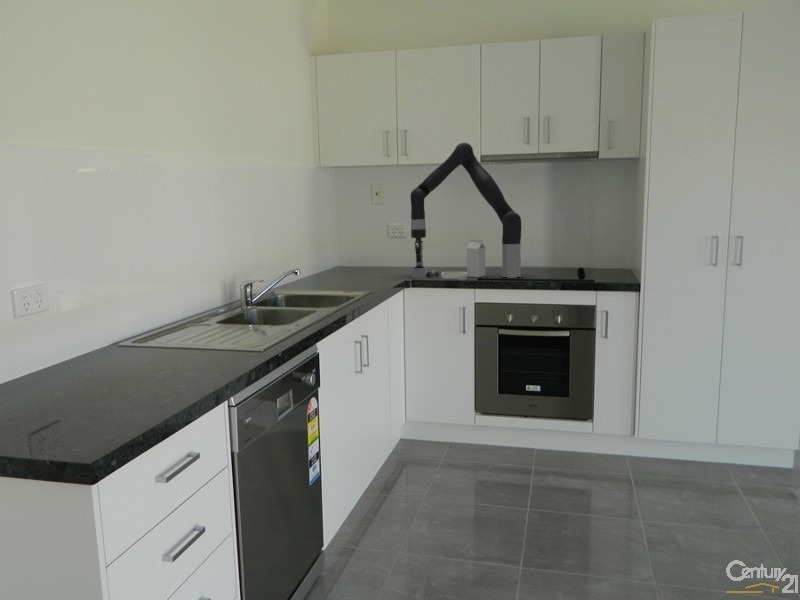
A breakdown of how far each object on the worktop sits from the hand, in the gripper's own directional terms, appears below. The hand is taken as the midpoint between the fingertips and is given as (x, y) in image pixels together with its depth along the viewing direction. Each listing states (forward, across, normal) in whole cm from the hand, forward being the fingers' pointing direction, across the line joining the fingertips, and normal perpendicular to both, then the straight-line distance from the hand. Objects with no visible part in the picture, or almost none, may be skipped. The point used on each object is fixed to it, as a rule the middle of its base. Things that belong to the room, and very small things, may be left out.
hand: (419, 261), depth 345 cm
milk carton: (+9, +9, -29) cm, 32 cm away
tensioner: (+9, 0, -3) cm, 10 cm away
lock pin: (+6, 0, 0) cm, 6 cm away
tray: (+9, -1, -18) cm, 20 cm away
